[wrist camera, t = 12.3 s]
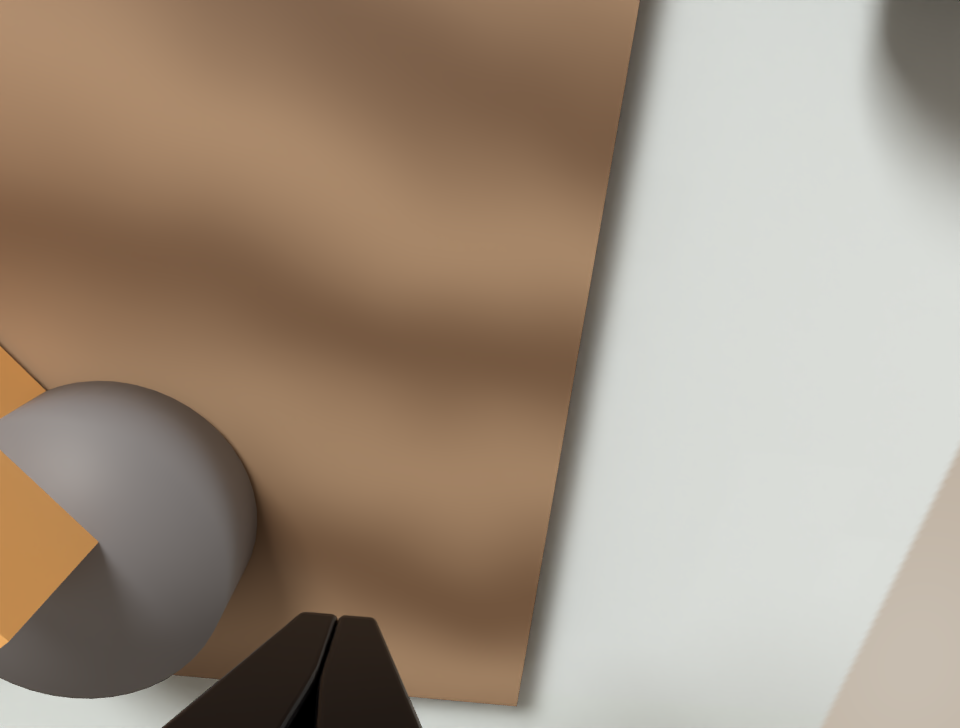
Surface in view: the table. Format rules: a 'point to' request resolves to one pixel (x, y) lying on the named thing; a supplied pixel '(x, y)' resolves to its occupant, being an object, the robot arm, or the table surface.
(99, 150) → the board
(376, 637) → the robot arm
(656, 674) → the table surface
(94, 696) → the orange and grey block
